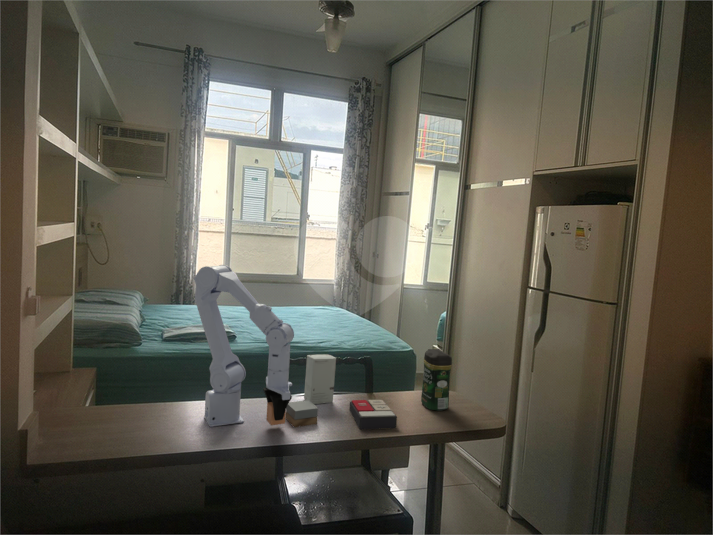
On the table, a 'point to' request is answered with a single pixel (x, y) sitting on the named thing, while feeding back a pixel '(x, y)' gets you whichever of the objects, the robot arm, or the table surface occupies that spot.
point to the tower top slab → (302, 409)
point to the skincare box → (320, 378)
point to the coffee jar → (436, 380)
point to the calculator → (372, 414)
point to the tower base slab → (301, 421)
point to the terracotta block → (270, 415)
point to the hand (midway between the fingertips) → (275, 416)
